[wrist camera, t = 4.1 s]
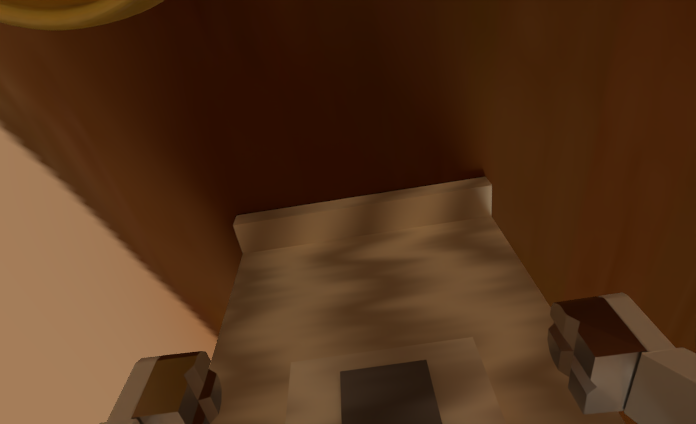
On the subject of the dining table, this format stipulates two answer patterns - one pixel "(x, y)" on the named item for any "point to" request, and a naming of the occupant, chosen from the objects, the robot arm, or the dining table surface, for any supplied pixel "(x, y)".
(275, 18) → the dining table surface
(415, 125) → the dining table surface
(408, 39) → the dining table surface
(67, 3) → the plant pot
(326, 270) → the plate
